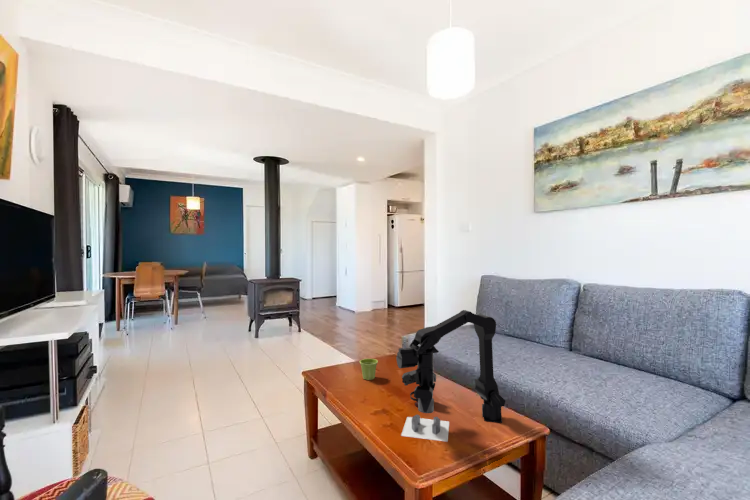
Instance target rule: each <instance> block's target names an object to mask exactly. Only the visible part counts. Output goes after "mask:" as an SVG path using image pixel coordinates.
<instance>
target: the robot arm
mask: <svg viewBox="0 0 750 500" xmlns="http://www.w3.org/2000/svg"><path fill="white" fill-rule="evenodd" d="M468 323H470V324H473V328H474V331H475V333H476V335H477V337H478V348H479V349H478V350H479V353H478V354H479V373H480V375H479V377H478V378H475V379H474V383H475V384H474V385H475V387H474V390H475V391H476V393H477V394H478V395H479V397H480V399H481V400H483V403H482V404H481V413H482V414H481V415H482V418H483V420H484V422H490V423H497V424H498V423H499V424H503V420H502V408H503V407H505V405H506V400H505V399H504V397H503V396H501V394H500V391H499V386H498V383H497V381H496V378H495V377H494V358H493V357H494V355H493V354H494V353H493V338H494V336H495V334H496V330H497V322H496V320H495V318H493V317H491V316H489V315H485V314H481V313H480V314H476V313H473V312H471V311H469V310H466V309H463V310H461V311H460V312H458V313H456V314H455V315H452V316H451V317H449V318H447V319H445V320H442V321H441V322H439V323H438V324H436V325H433V326H427V327H423V328H420V329H418V330H417V331H416V332H415V335H414V338H413V340H412V341H411V342H410V345H409V347H407V348H405V347H400V348H399V347H398V351H397V352H396V353H397V354H396V356H395V357H396V360H395V361H396V365H397V367H398V368H399V369H407V368H414V367H416V366H417V367H416V369H413V370H411V371H407V372H405V373H404V372H403V374H402V375H401V379H402V383H403V384H404V386H409V385H410V384H414V383H415V385H417V386H416V387H415V388H414V390H413V391H414V394H413V398H415V399H416V398H420V400H421V404H422V408H423V411H424V412H427V410H428V407H429V405H430V402H431V400H432V398H433V399H434V390H435V388H436V382H437V375H436V373H435V372H434V370H435V366H434V354H438V353H439V352H440V351H439V350H438V349H437V347H436V345H437V344H438V343H439V341H440V340H441V339H442V338H443V337H444V336H446V335H448V334H449V333H452V332H454V331H455V330H456V329H458V328H461V327H462V326H464V325H466V324H468Z"/></svg>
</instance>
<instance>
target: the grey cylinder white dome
mask: <svg viewBox="0 0 750 500" xmlns="http://www.w3.org/2000/svg"><path fill="white" fill-rule="evenodd" d="M434 404H435V399H434V397H433V398H432V400H431V402H430V405H429V407H428V410H427V412H424V411H423V408H422V404H421V400H420V398H418V407H417V411H418V412H419V413H423V414H432V413H434V408H435V405H434Z"/></svg>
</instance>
